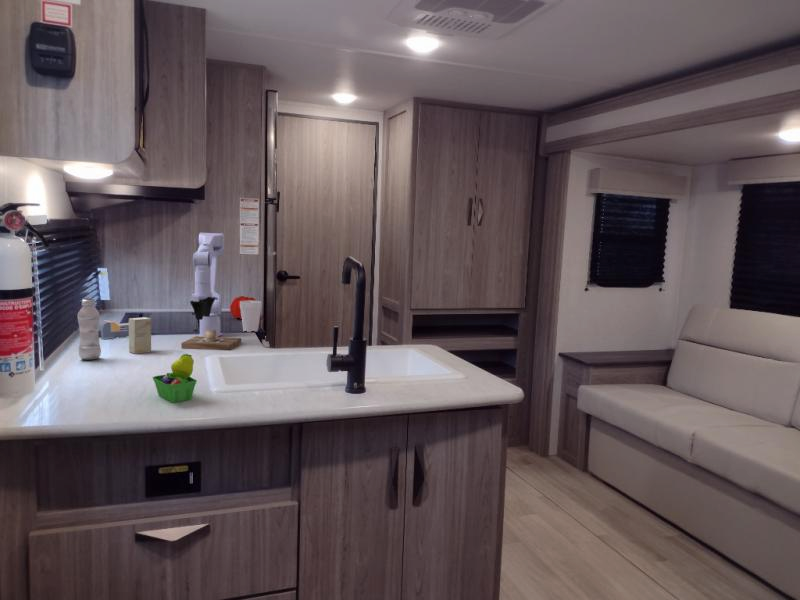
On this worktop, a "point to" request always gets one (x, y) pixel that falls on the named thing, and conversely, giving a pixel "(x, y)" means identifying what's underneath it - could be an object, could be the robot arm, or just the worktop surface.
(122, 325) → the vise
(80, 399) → the worktop surface
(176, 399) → the fruit basket
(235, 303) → the tomato
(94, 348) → the plastic bottle
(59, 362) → the worktop surface
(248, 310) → the foam cup
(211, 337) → the peg
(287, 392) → the worktop surface
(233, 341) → the socket board
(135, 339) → the skincare box
